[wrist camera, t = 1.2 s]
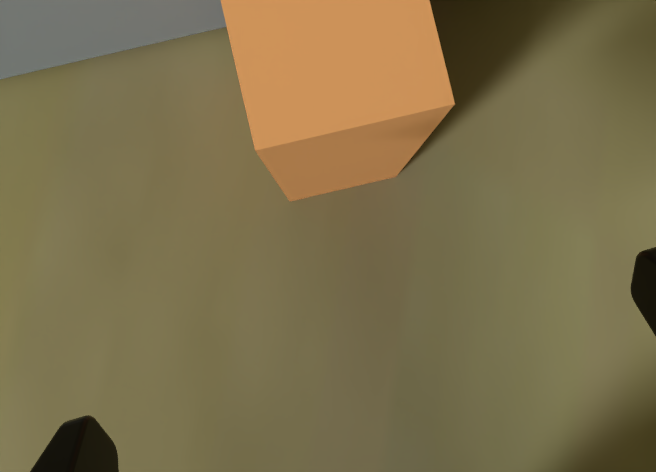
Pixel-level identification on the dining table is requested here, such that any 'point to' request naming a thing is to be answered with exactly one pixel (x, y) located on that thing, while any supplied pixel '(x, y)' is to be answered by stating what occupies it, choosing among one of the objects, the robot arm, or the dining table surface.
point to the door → (93, 28)
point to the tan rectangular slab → (337, 87)
